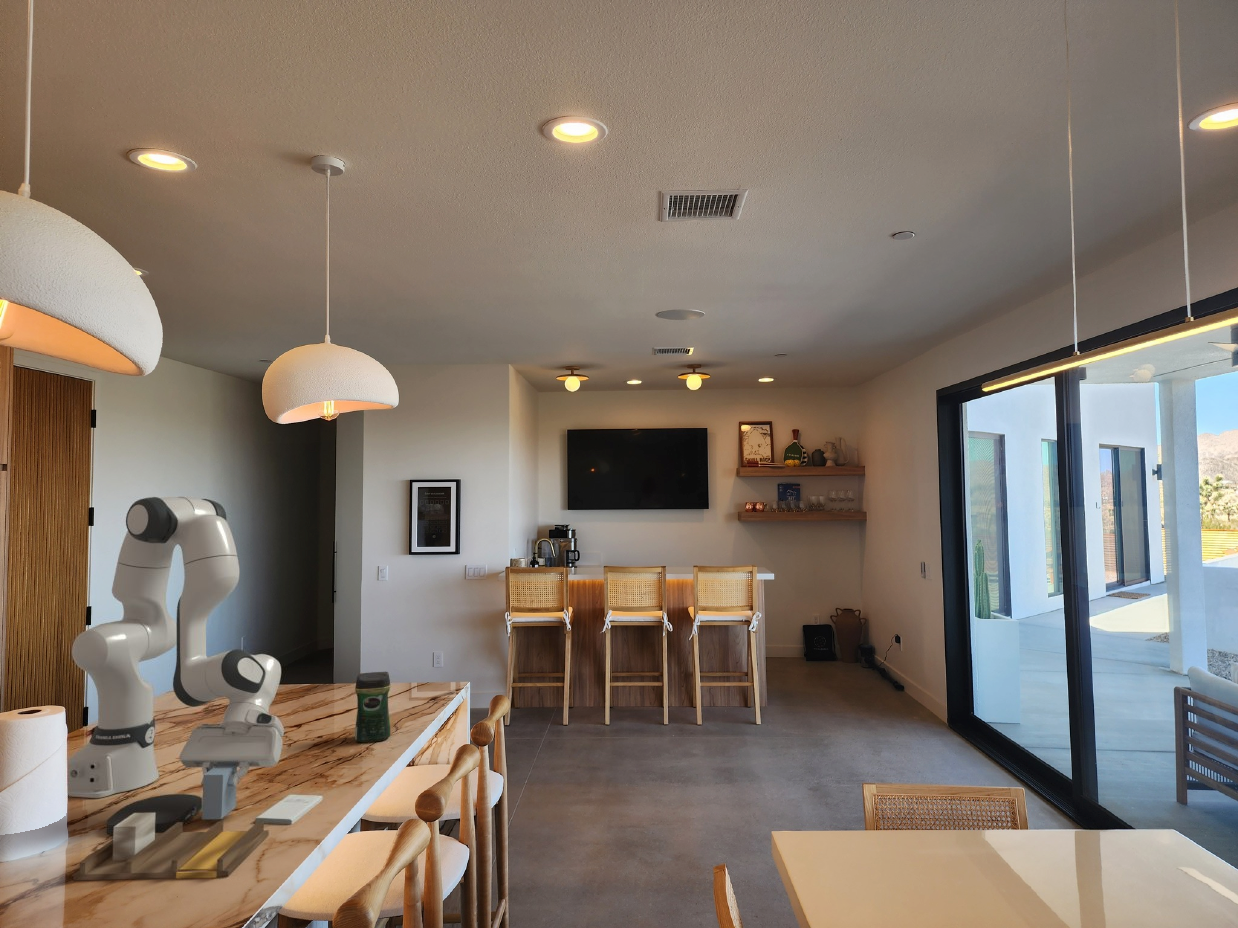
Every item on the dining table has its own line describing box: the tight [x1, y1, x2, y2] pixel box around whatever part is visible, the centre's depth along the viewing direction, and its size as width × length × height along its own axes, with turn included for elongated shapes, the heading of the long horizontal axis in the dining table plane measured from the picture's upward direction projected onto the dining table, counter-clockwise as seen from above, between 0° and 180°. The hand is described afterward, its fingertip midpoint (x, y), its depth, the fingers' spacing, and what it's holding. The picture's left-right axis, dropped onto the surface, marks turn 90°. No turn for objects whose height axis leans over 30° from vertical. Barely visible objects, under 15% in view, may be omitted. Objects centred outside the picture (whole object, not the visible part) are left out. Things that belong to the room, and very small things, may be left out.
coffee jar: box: [354, 671, 391, 743], centre depth 205 cm, size 10×8×19 cm
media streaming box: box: [106, 793, 203, 836], centre depth 152 cm, size 15×15×3 cm
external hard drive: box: [254, 794, 324, 825], centre depth 156 cm, size 2×8×12 cm
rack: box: [72, 813, 270, 881], centre depth 136 cm, size 27×16×7 cm, turn 92°
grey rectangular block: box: [201, 764, 238, 820], centre depth 152 cm, size 4×6×9 cm, turn 2°
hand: (218, 785), depth 152 cm, fingers closed on grey rectangular block, 4 cm apart
